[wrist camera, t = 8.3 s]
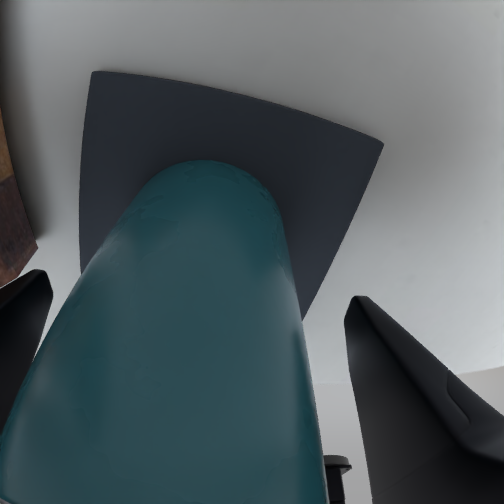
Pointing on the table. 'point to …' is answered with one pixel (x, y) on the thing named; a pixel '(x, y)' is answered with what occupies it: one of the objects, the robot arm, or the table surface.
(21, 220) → the book
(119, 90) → the mat
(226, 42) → the table surface
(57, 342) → the can
